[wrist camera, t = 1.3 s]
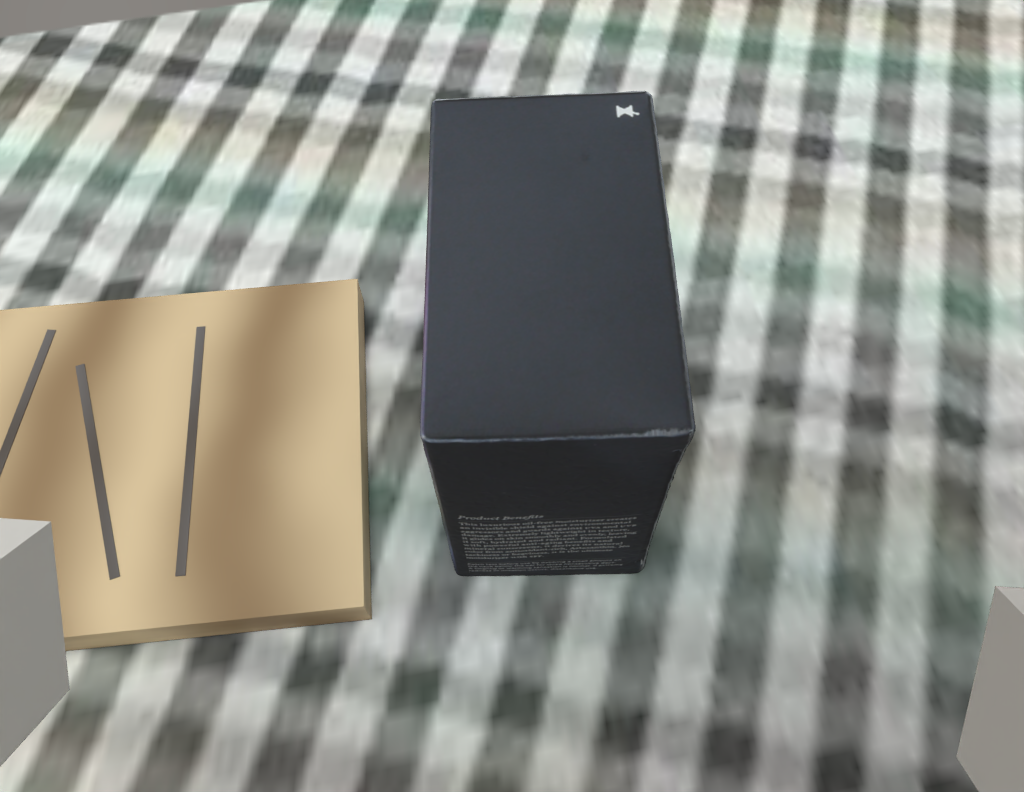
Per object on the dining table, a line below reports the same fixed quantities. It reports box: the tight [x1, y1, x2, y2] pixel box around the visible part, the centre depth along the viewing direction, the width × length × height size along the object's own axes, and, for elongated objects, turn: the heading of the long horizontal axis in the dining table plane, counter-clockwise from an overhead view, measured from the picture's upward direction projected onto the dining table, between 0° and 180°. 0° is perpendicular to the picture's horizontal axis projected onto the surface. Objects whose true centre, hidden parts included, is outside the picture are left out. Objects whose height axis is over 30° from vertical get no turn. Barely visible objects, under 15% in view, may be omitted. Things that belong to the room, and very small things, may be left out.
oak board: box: [0, 279, 372, 651], centre depth 29 cm, size 19×12×2 cm, turn 96°
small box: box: [420, 91, 695, 576], centre depth 26 cm, size 11×6×10 cm, turn 1°
